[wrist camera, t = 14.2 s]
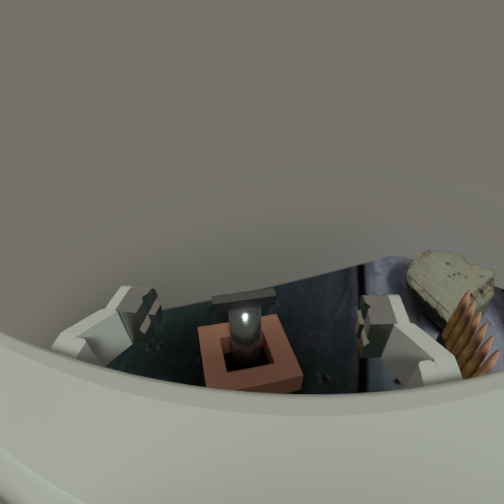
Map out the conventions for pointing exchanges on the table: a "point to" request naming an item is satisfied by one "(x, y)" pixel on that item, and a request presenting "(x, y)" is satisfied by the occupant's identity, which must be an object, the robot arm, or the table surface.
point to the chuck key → (245, 323)
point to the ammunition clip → (468, 340)
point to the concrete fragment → (447, 285)
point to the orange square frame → (258, 378)
